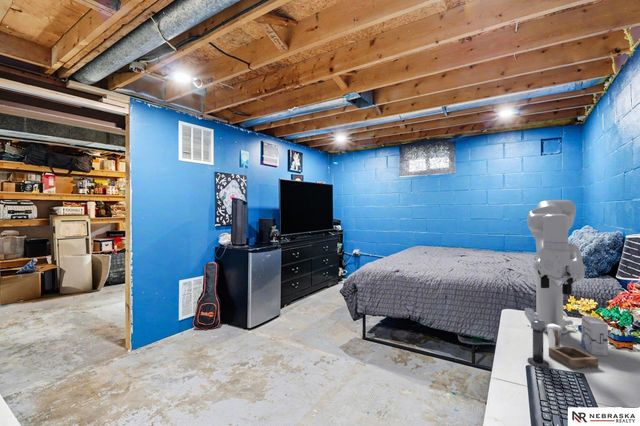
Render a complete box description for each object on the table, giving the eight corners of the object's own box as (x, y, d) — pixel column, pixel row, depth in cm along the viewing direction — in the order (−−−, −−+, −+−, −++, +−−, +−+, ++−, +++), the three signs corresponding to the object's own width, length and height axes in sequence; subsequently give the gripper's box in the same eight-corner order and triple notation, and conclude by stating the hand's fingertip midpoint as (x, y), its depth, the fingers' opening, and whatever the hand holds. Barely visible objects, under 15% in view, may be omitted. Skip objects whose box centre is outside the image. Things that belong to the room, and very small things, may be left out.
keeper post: (539, 358, 108) (539, 325, 108) (553, 367, 102) (553, 332, 102) (523, 359, 108) (523, 326, 108) (536, 368, 102) (536, 333, 102)
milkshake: (567, 351, 114) (567, 324, 114) (550, 350, 115) (550, 323, 115) (560, 346, 118) (560, 320, 118) (544, 345, 119) (544, 319, 119)
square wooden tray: (572, 354, 111) (572, 346, 111) (598, 367, 102) (598, 358, 102) (548, 355, 111) (548, 347, 111) (572, 369, 101) (572, 360, 101)
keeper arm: (546, 331, 102) (546, 324, 102) (532, 329, 104) (532, 322, 104) (534, 315, 119) (534, 308, 119) (522, 313, 120) (522, 307, 120)
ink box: (580, 344, 120) (580, 314, 120) (596, 346, 118) (596, 316, 118) (591, 354, 112) (591, 322, 112) (608, 356, 110) (608, 324, 110)
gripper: (528, 244, 125) (528, 286, 125) (566, 249, 107) (567, 297, 107) (545, 244, 125) (545, 285, 125) (586, 249, 108) (586, 297, 108)
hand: (555, 291), depth 116 cm, fingers open, 9 cm apart
